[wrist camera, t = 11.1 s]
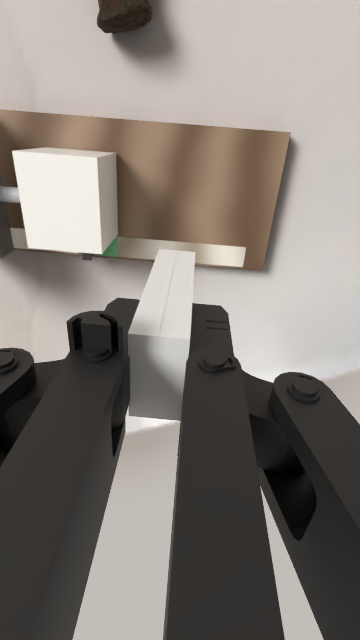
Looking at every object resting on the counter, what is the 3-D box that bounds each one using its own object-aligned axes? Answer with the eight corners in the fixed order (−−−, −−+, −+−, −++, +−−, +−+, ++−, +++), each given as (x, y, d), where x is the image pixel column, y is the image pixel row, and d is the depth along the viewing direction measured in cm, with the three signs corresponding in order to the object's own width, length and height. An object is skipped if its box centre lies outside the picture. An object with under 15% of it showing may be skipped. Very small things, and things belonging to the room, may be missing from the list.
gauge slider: (116, 152, 28) (97, 157, 23) (118, 259, 33) (103, 284, 28) (12, 144, 28) (-31, 147, 23) (29, 252, 33) (-2, 275, 28)
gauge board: (286, 132, 28) (321, 133, 20) (260, 265, 34) (278, 307, 26) (-59, 105, 29) (-164, 94, 20) (-26, 241, 35) (-96, 275, 26)
